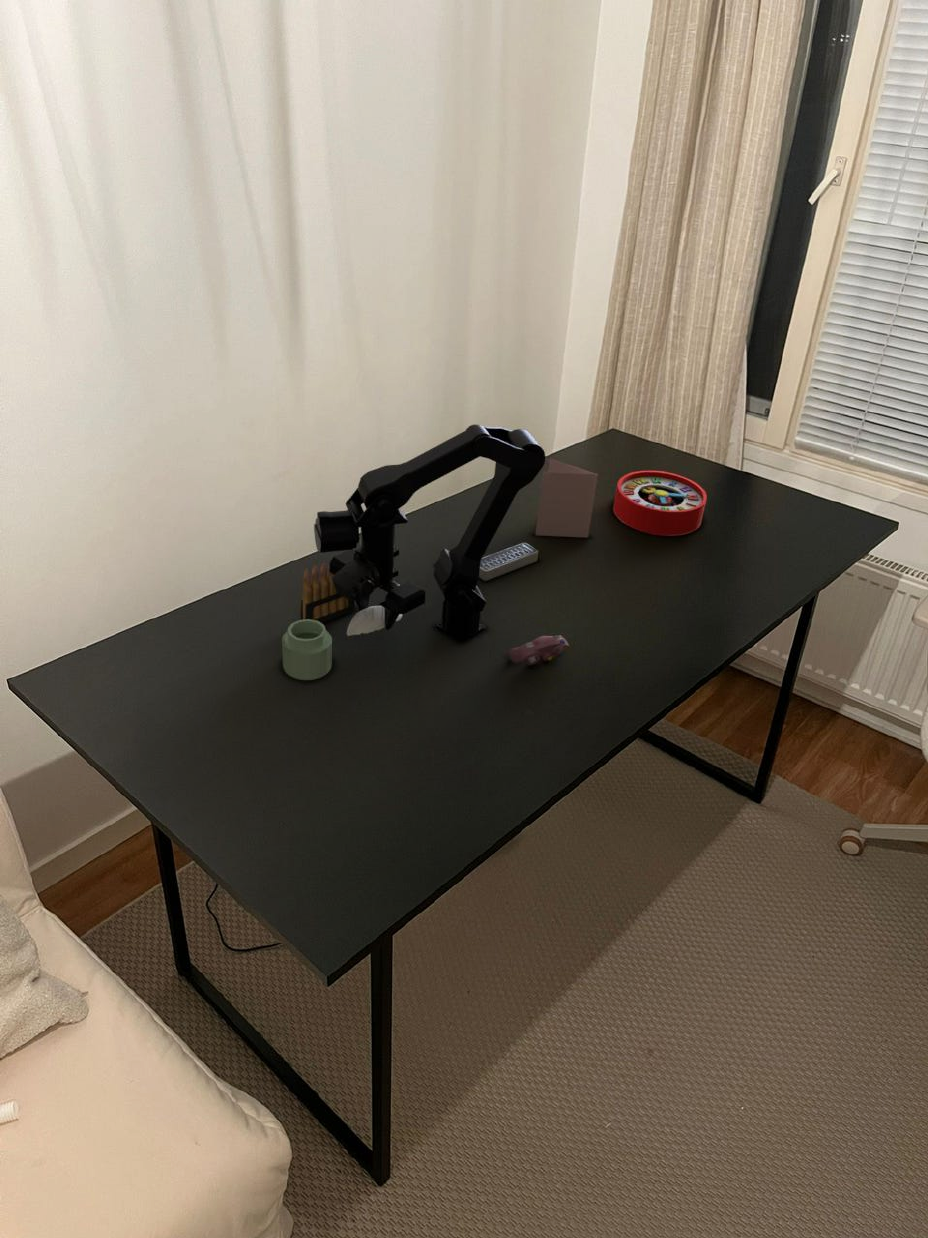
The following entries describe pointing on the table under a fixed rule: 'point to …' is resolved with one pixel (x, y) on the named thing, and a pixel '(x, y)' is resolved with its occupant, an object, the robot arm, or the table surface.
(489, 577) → the multiport hub
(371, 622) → the pincushion
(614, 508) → the toy clock
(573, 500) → the greeting card
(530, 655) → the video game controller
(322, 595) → the ammunition clip
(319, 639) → the pale green cup
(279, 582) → the table surface
